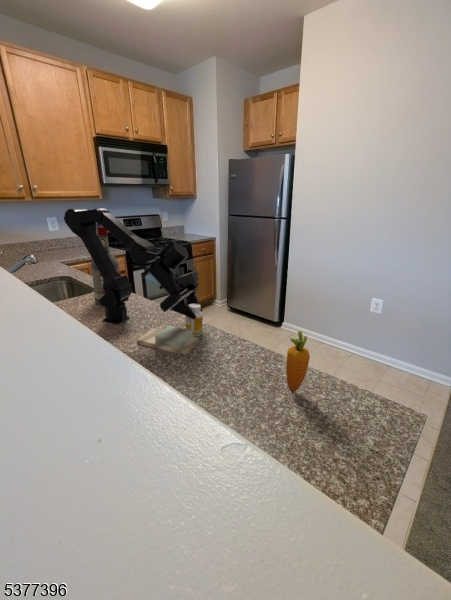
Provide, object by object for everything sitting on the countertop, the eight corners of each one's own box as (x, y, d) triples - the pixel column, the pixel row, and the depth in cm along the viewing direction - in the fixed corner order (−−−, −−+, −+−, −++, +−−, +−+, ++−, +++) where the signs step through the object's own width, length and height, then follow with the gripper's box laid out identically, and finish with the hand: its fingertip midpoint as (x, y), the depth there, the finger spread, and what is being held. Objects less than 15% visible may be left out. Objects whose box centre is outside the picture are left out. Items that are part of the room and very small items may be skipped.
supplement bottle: (203, 330, 92) (204, 303, 89) (200, 337, 87) (201, 309, 84) (187, 329, 93) (187, 301, 89) (183, 336, 87) (184, 307, 84)
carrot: (299, 402, 60) (310, 341, 56) (278, 393, 63) (286, 334, 58) (306, 390, 64) (316, 332, 60) (285, 382, 67) (294, 326, 62)
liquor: (98, 298, 116) (91, 225, 106) (121, 298, 118) (116, 226, 108) (94, 306, 107) (86, 227, 98) (119, 305, 110) (113, 228, 100)
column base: (137, 343, 81) (136, 332, 80) (154, 331, 89) (154, 321, 88) (185, 355, 76) (185, 343, 75) (199, 341, 85) (199, 331, 83)
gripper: (169, 267, 75) (206, 311, 76) (194, 256, 92) (224, 292, 93) (144, 291, 79) (180, 332, 80) (172, 276, 96) (201, 310, 97)
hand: (198, 315), depth 87 cm, fingers closed on supplement bottle, 5 cm apart
